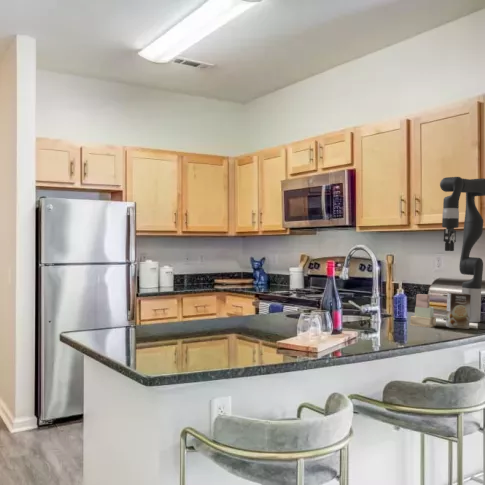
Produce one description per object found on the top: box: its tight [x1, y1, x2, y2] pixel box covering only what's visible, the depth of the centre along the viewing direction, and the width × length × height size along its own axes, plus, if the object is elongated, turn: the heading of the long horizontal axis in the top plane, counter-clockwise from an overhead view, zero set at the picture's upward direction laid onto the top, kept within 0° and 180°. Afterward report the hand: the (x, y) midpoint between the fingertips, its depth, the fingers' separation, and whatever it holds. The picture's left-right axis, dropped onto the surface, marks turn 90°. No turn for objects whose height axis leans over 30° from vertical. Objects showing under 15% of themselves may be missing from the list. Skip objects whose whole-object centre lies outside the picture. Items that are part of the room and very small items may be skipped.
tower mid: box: [414, 306, 435, 318], centre depth 257 cm, size 7×7×4 cm
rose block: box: [415, 293, 431, 308], centre depth 257 cm, size 5×5×6 cm
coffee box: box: [445, 292, 471, 330], centre depth 254 cm, size 9×6×16 cm
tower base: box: [410, 315, 437, 328], centre depth 257 cm, size 9×9×4 cm
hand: (449, 251), depth 263 cm, fingers open, 8 cm apart
